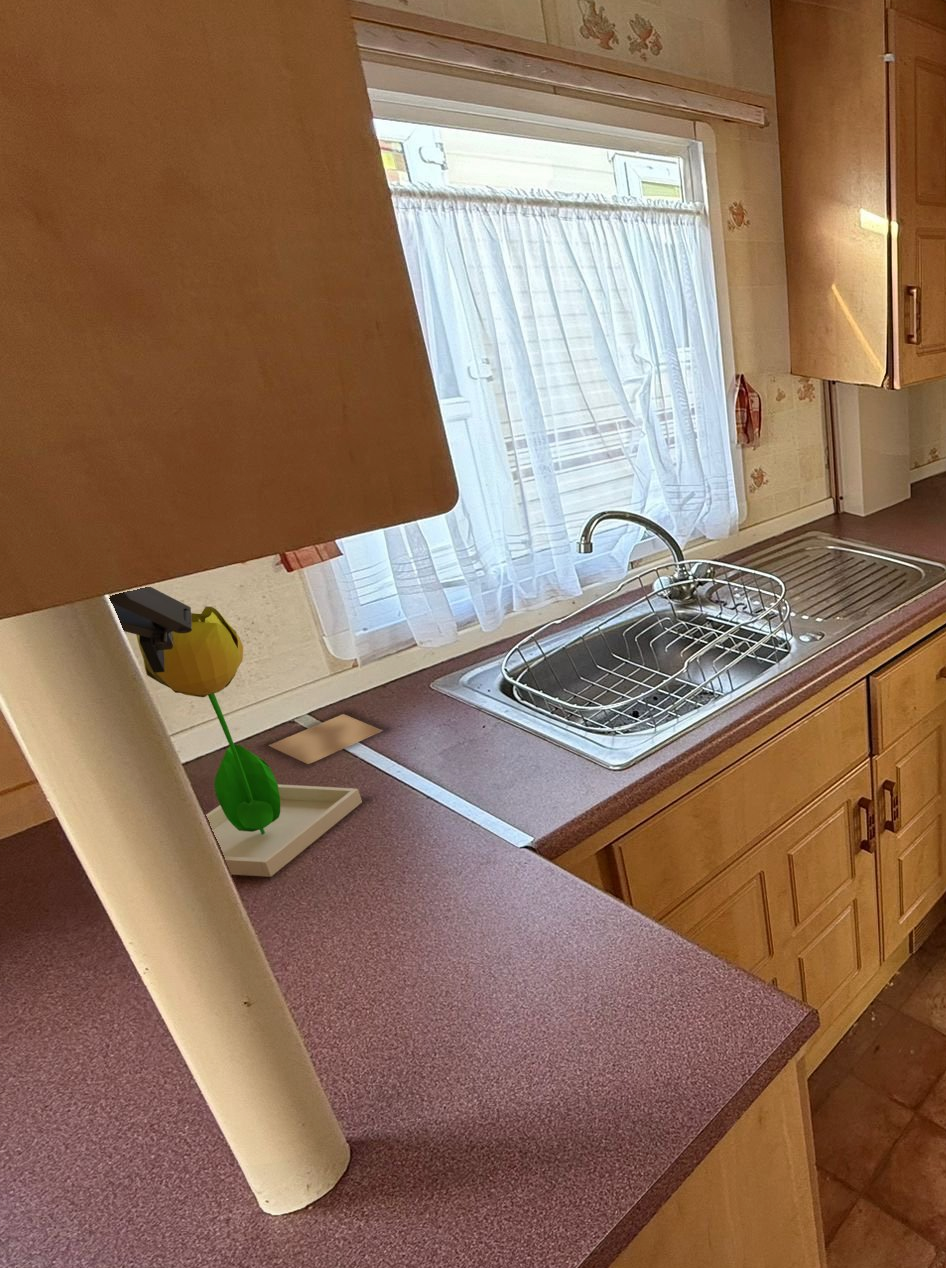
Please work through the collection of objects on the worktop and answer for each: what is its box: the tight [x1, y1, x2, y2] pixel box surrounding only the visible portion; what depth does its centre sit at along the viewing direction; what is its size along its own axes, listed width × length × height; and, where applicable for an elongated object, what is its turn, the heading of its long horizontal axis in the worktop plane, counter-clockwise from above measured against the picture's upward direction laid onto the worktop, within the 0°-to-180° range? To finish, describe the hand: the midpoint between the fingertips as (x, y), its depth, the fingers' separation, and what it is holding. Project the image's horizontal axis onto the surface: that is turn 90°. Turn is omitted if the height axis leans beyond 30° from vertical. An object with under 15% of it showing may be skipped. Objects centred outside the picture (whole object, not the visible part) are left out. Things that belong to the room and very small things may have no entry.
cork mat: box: [267, 713, 384, 765], centre depth 125 cm, size 10×10×1 cm
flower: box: [135, 606, 280, 834], centre depth 100 cm, size 9×8×30 cm
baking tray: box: [205, 783, 363, 878], centre depth 106 cm, size 14×14×3 cm
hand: (57, 670), depth 80 cm, fingers open, 13 cm apart
